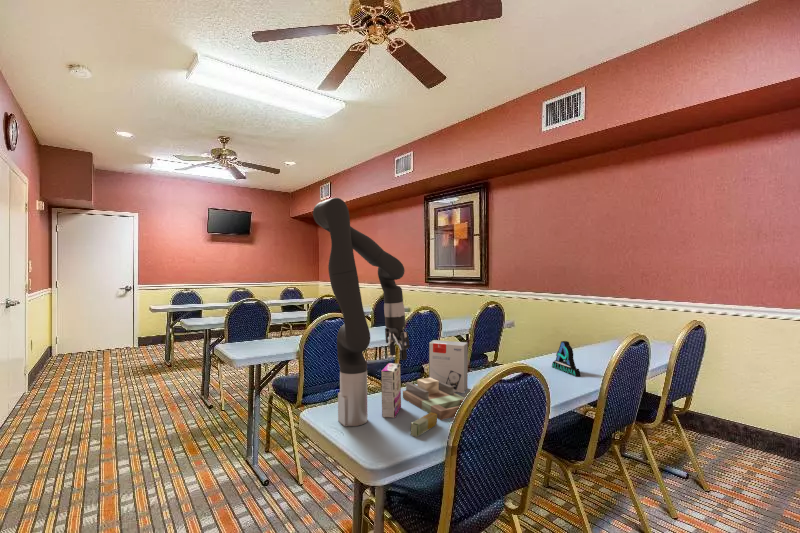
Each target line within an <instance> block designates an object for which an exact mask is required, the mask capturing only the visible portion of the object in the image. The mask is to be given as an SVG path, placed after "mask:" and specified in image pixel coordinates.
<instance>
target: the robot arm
mask: <svg viewBox="0 0 800 533" xmlns="http://www.w3.org/2000/svg"><path fill="white" fill-rule="evenodd" d="M312 217H313V220H314V222H315V223H316V225H318V226H319V227H321V228H322V229H324V230H325V231H327V233H329V236H330V241H331V242H330V243H331V244H330V245H331V248H330V254H329V259H328V265H327V266H328V275H329V281H330V286H331V290H332V293H333V295H334V297H335V300H336V301H337V303H338V306H339V308H340V310H341V313H342V317H343V325H341V326H340V328H339V329H338V332H337V334H336V348H337V351H336V352H337V362H338V365H339V392H338V393H337V421H338V422H339V423H340V424H341V425H342V426H343V427H357V426H358V427H359V426H361V425H364V424H366V423H367V422H368V416H369V415H368V363H367V360H366V358H365V357H364V354H363V353H364V352H365V351H366V350H367V349H368V347H369V346H370V342H371V332H370V328H369V325H368V321H367V318H366V314H365V312H364V304H363V301H362V293H361V288H360V280H359V276H358V270H357V264H356V260H355V252H356V253H357V254H358V255H359V256H361V258H362V259H364V260H365V262H367V263H368V264H369V265H371V266H373V267H377V277H378V280H379V281H378V282H379V284H380V286H381V288H382V292H383V303H384V304H383V310H384V311H383V312H384V322H385V323H384V324H385V328H384V333H385V334H384V335H385V343H386V344H387V345H388V346H389V355H390V356H392V357H393V356H396V355H397V351H396V346H397V345H398V347H399V349H400V350H399V353H400V360H402V361H405V360H406V361H407V359H408V355H407V354H408V352H407V350H408V349H410V345H411V344H410V338H409V332H408V331H404V329H403V328H405V327H406V326H407V324H406V322H407V321H406V311H405V305H404V296H403V289H402V287H401V286H399V285H397V283H396V280H400V279H401V278H403V277H404V276H405V272H406V270H405V266H404V264H403V263H402V262H401V261H400V259H398V258H397V257H396V256H394V255H392V254H390V253H389V252H387V251H385V250H384V249H383V248H382V247H381V246H380V245H379V244H378V242H376V241H374V240H373V238H372V237H369V236H367V235H366V234H365V233H363V232H360V231H359V230H357V229H355V228H354V227H352V226H351V219H350V217H351V216H350V210H349V207H348V205H347V204H346V202H345V201H344V200H343V199H341V198H340V197H332V198H328V199H326V200H322V201H320V202H318V203H316V205H315V206H314V207H313V210H312Z"/></svg>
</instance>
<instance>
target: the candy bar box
mask: <svg viewBox="0 0 800 533" xmlns="http://www.w3.org/2000/svg"><path fill="white" fill-rule="evenodd" d="M380 374H381V375H380V376H381V379H380V380H381V382H380V383H381V385H380V386H381V387H380V388H381V418H388V419H389V418H392V419H396V417H397V415H398V413H399V412H400V409H401V408H402V395H401V394H402V390H401V388H402V387H401V363H395V362H394V363H392V362H389V363H387V364H386V366H385V367H384V368H383V369H382V370H381V372H380Z"/></svg>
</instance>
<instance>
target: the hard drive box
mask: <svg viewBox="0 0 800 533" xmlns="http://www.w3.org/2000/svg"><path fill="white" fill-rule="evenodd" d="M468 346H469V344H468V342H465V341H455V340H454V341H452V340H439V339H438V340H437V339H433V340H431V341H430V342H428V378H434V379H436V380H439V381H441V382H443V383H446V384H448V385H450V386H453V387H454V393H461V394H464V393H465V392H466V391H467V390H468V380H469V379H468V375H469V374H468V364H469V363H468V362H469V361H468V359H469V358H468V357H469V356H468V355H469V352H468V350H469V348H468Z"/></svg>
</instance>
